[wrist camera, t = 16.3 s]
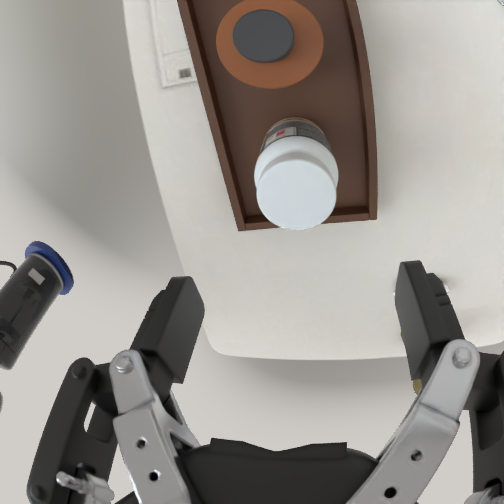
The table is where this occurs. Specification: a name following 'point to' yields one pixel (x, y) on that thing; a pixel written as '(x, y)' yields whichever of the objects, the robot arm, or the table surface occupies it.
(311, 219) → the pill bottle
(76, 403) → the robot arm
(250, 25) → the amber bottle
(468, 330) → the table surface
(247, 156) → the tray
